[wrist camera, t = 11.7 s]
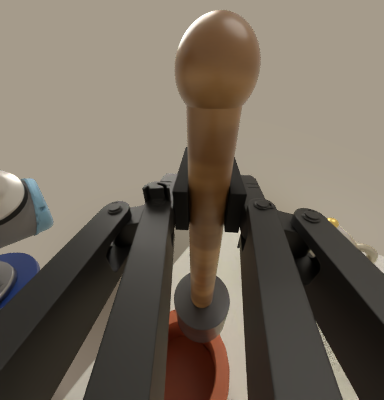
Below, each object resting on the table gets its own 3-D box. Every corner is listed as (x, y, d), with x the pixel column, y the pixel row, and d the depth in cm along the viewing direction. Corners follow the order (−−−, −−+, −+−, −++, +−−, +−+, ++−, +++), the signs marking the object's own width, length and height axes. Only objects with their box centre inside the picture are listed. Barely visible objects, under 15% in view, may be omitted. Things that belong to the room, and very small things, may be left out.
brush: (167, 309, 19) (97, 15, 5) (201, 278, 22) (215, 36, 8) (199, 358, 16) (241, -96, 2) (235, 314, 19) (355, 7, 5)
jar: (133, 371, 25) (115, 355, 19) (188, 317, 31) (187, 292, 25) (175, 476, 18) (166, 503, 12) (235, 383, 24) (249, 371, 18)
